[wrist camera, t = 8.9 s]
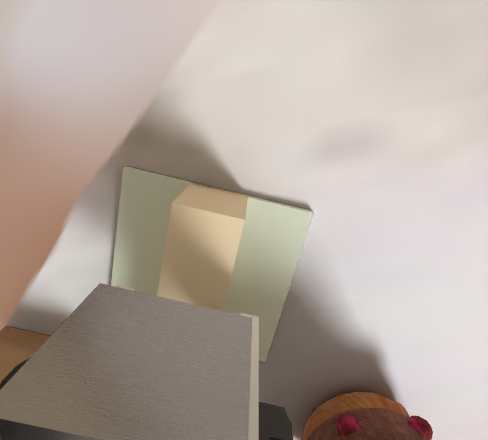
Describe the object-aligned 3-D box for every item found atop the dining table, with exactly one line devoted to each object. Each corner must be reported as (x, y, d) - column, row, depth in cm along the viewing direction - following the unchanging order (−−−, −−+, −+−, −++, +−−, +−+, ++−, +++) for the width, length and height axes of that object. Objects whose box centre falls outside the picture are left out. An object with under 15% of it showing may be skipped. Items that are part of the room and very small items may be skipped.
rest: (265, 357, 20) (267, 415, 16) (109, 323, 19) (72, 374, 15) (312, 210, 16) (328, 239, 13) (126, 166, 16) (85, 182, 12)
